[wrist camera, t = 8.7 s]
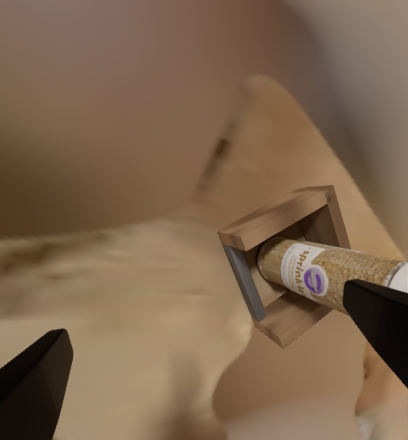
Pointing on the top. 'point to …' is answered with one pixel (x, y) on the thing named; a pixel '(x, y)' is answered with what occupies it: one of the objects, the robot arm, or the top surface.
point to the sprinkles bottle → (326, 269)
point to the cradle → (270, 225)
